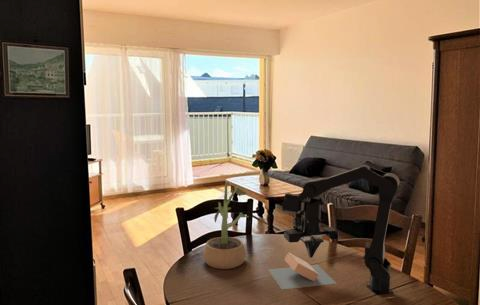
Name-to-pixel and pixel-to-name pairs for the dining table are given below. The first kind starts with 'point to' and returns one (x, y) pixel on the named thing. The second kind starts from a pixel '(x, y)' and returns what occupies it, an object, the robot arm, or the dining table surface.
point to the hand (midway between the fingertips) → (310, 257)
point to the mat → (299, 278)
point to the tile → (301, 267)
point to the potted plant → (225, 240)
